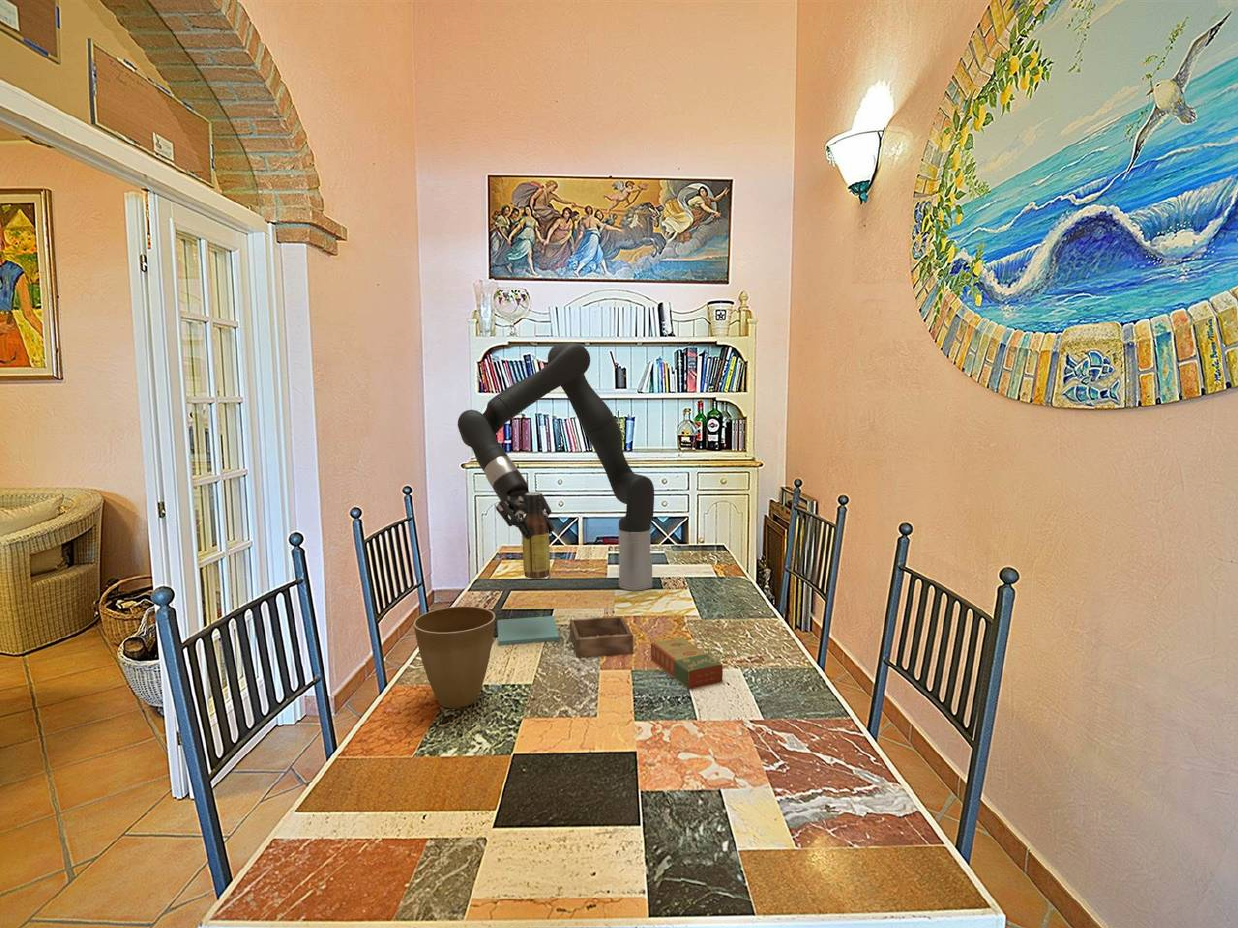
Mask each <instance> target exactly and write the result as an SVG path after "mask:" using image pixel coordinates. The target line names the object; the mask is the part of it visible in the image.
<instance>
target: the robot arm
mask: <svg viewBox="0 0 1238 928" xmlns="http://www.w3.org/2000/svg"><path fill="white" fill-rule="evenodd" d="M590 365H591V355H590V352H589V351H588V349H587V348H585V346H583V345H581V344H579V343H574V342H567V343H559V344H558V343H557V344H555V345H554V346H552V347H551V348H550V349H549V350H548V354H547V364H546V365H545V366H544V367H543V368H541V369H540V370H538V371H536V372H534V373H533V374H531V375H529V376H527V377H524V379H521V380H519V381H517V382H516V383H513V384H512V385H509V386H508V387H507V388H505V389H504V390H502V391H501V392H499V393H498V394H496V395H495V396H494V397H492V398H491V399H490V400H489V401H488V402H487V404H486V408H485V411H484V412H483V413H482V412H480V411H478V410H476V409H468V410H465V411H463V412H462V413H461V414H460V415H459V417H458V419H457V429H458V431H459V434H460V437H461V440H462V442H463V443H464V444H465V445H466V446H467V447H469V448H471V449H472V451H473V454H474V457H475V459H476V462H477V463H478V465H479V466H480V468H481V470H482V472H484V475H485V477H486V480H487V481H488V483H489V485H490V486H491V487H492V489H493V491H494V493H495V494H496V496H497V497H498V499H499V500H500V501H499V502H498V503H497V505H495V510H496V511H497V512H498V513H499V515H500V516H501V518H502V520H504V522H505V523H506V525H507V526H508V527H512V526H514V527H516V528H518V530H519V532H520V533H521V536H522V535H523V536H524V537H525V538H526V539H530V538H531V537H532V536H533V532H532V530H531V529H530V527H529V526H528V524H527V522H526V521H524V517H525V515H526V500H525V494H526V493H530V491H529V484H528V483H527V481H526V480H525V478H524V476H523V475H522V473H521V472H520V470H519V469H518V467H517V465H516V464H515V463H514V462H513V460H512V459H511V458H510V456H509V455H508V454H507V452H506V451H505V449H504V448H503V446H502V445H501V444H500V442H499V441H498V439H497V437H496V435H497V434H498V433H499V431H500V430H501V429H502V428H503V427H504V426H505V425H506V424H507V422H509V421H511V420H512V419H514V418H515V417H516V416H518V415H520V414H521V413H522V412H523V411H524V410H526V409H527V408H529V407H530V406H532V404H535V403H536V402H538V401H539V400H540V399H541V398H543V397H544V396H546V395H547V394H549V393H551V392H552V391H554V390H556V389H558V388H559V387H561V388H562V391H563V392H564V394H565V395H566V397H567V398H568V399H567V400H569V402H570V406H571V407H572V409H573V411H574V413H575V416H576V417H577V419H578V421H579V422H580V425H581V427H582V430H583V431H584V434H585V435H586V437H587V438H588V441H589V443H590V445H591V446H592V448H593V450H594V452H595V454H596V456H597V458H598V460H599V462H600V464H601V465H602V467H603V469H604V471H605V474H606V476H607V479H608V481H609V484H610V487H611V489H612V493H613V495H614V496H615V498H616V499H617V500H618V501H619V502H620V503H622V504H624V505H625V504H626V507H625V508H626V509H625V515H624V516H623V517H621V518H619V520H618V587H619V588H620V589H623V590H626V591H633V592H634V591H644V590H648V589H653V555H652V554H651V524H652V521H653V519H654V508H655V507H654V506H655V487H654V484H653V481H652V480H651V479H650V478H649V477H648V476H645V475H643V474H642V475H641V474H638V473H634V472H633V470H632V469H631V466H630V465H629V463H628V462H627V460H626V457H625V454H624V449H623V447H624V446H623V435H622V432H621V429H620V426H619V424H618V422H617V420H616V417H615V415H614V414H613V411H612V410H611V409H610V407H609V406H608V405H607V404H606V402H604V400H603V399H602V398H601V397H600V395H599V394H598V393H597V392H596V391H595V390H594V389H593V388H592V386H591V384H590V383H589V382H588V379H587V377H586V376H585V375H586V373H587V371H588V369H589V367H590ZM542 509H543V514H544V517H545V520H546V522H547V525H548V529H549V535H550V534H552V533H553V532H554V530H555V528H554V525H553V523H552V521H551V520H550V519H549V516H550V515H551V514H552V509H551V507H550V506H549V504H548V502H547V500H546V498H545V496H544V495H543V499H542Z"/></svg>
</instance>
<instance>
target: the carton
mask: <svg viewBox="0 0 1238 928" xmlns="http://www.w3.org/2000/svg"><path fill="white" fill-rule="evenodd" d="M650 660H651V661H652V662H654V663H655V664H656V665H657V666H659V668H661V669H662V670H664V671H665V672H666V673H668V675H670V677H672V678H674V680H676V681H677V682H678V683H680V684H681V685H682V686H683V687H684V688H685V689H687V690H691V689H697V688H701V687H705V686H709V685H713V684H717V683H721V682H723V678H724V677H723V674H724V670H723V669H724V667H723V664H722V663H721V662H720V661H718V660H716V659H715V658H714V657H712V656H711V655H709V654H708V653H706V652H705V651H704V650H702V649H701V648H699V647H698V646H696V645H695V644H693V643H691V641H689V640H687V639H686V638H685V637H684V636H681V637H675V638H668V639H665V640H664V639H663V640H659V641H658V640H657V641H653V642H651V643H650Z"/></svg>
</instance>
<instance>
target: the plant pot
mask: <svg viewBox="0 0 1238 928" xmlns="http://www.w3.org/2000/svg"><path fill="white" fill-rule="evenodd" d="M495 625H496V614H495V613H494V612H493V611H492V610H491V609H487V608H485V607H479V606H469V605H468V606H467V605H464V606H462V605H461V606H459V605H458V606H449V607H443V608H437V609H434V610H430V611H428V612H426V613H423V614H421V615H419V616H417V617H416V618H415V619H414V621H413V628H414V634H415V639H416V644H417V648H418V651H419V652H418V653H419V655H420V658H421V663H422V666H423V668H424V672H425V674H426V677H427V680H428V682H429V685H430V688H431V690H432V692H433V694H434V696H435V699H436V702H437V703H438V705H440V706H441V707H444V708H447V709H460V708H461V709H462V708H465V707H468V706H470V705H473V704H475V702H477V700H478V698H479V695H480V693H481V691H482V687H483V684H484V680H485V677H486V673H487V671H488V666H489V661H490V657H491V652H492V645H493V641H494V633H495Z"/></svg>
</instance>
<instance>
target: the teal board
mask: <svg viewBox="0 0 1238 928" xmlns="http://www.w3.org/2000/svg"><path fill="white" fill-rule="evenodd" d="M497 641H498V642H497V643H498V644H497V645H498V646H507V645H509V646H510V645H519V644H520V645H521V643H522V644H534V643H533V642H535V643H546V641H548V642H558V641H560V633H559V631H558V626H557V623H556V620H555V616H554V615H550V616H549V615H548V616H535V617H533V616H532V617H523V618H522V617H521V618H507V619H506V618H505V619H497Z"/></svg>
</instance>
